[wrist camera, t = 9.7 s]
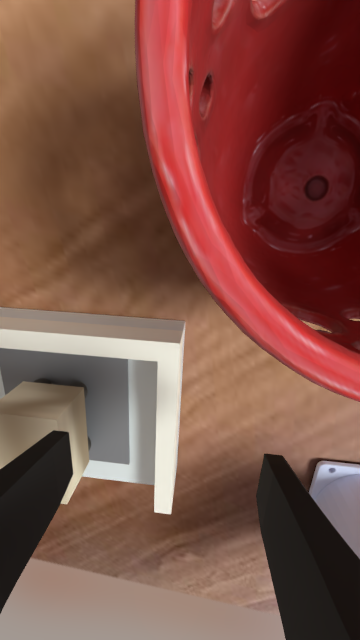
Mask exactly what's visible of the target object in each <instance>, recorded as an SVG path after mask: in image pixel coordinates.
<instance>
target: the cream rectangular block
mask: <svg viewBox="0 0 360 640" xmlns="http://www.w3.org/2000/svg"><path fill="white" fill-rule="evenodd" d="M87 393H88V390H87V387H86V385H85V384H83V383H82V382H73V383H71V384H69V385H68V386H65V385H55V384H52V382H51V381H50V380H48V379H46V378H40V379H37V380H35V381H34V382H25V381H23V382H22V383H20V384H19V385H18V386H17V387H15V388H14V389H13V390H11V391H10V392H9V393H8V394H6V395H5V396H4V397H2V398H1V399H0V469H1V468H3V467H4V466H5V465H7V464H8V463H10V462H11V461H12V460H14V459H15V458H16V457H18V456H19V455H20V454H22V453H23V452H24V451H26V450H27V449H29V448H30V447H31V446H33V445H34V444H35V443H37V442H38V441H39V440H41V439H42V438H43V437H45V436H46V435H47V434H49V433H50V432H52V431H53V430H56V431H65V432H69V438H70V447H71V456H72V466H73V476H72V478H71V481H70V483H69V485H68V488H67V490H66V492H65V495H64V497H63V499H62V501H61V503H60V504H68V502H69V500H70V498H71V496H72V494H73V492H74V490H75V488H76V486H77V484H78V482H79V481H80V479H81V477H82V475H83V473H84V471H85V469H86V467H87V465H88V463H89V450H90V448H91V440H90V438H89V437H88V436H87V424H86V411H85V398H86V396H87Z"/></svg>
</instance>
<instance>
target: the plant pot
mask: <svg viewBox="0 0 360 640" xmlns="http://www.w3.org/2000/svg"><path fill="white" fill-rule="evenodd" d="M135 55H136V73H137V86H138V94H139V102H140V110H141V118H142V126H143V134H144V138H145V142H146V147H147V151H148V155H149V160H150V164H151V168H152V172H153V175H154V179H155V182H156V185H157V188H158V192H159V195H160V198H161V201H162V203H163V206H164V209H165V212H166V214H167V217H168V219H169V222H170V224H171V227H172V229H173V231H174V234H175V236H176V239H177V241H178V243H179V245H180V246H181V248H182V250H183V252H184V254H185V256H186V258H187V259H188V261H189V263H190V265H191V266H192V268H193V270H194V271H195V273H196V275H197V276H198V278H199V280H200V281H201V283H202V284H203V285H204V287H205V288H206V290H207V291H208V292H209V294H210V295H211V296H212V298H213V299H214V301H215V302H216V303H217V304H218V305H219V307H220V308H221V309H222V310H223V311H224V313H225V314H226V315H227V316H228V317H229V318H230V319H231V320H232V321H233V322H234V323H235V324H236V325H237V327H238V328H239V329H240V330H241V331H242V332H243V333H244V334H245V335H247V336H248V337H249V338H250V339H251V340H252V341H254V342H255V343H256V344H257V345H258V346H260V347H261V348H262V349H263V350H265V351H266V352H267V353H269V354H270V355H271V356H273V357H274V358H276V359H277V360H278V361H280V362H281V363H282V364H284V365H285V366H287V367H289V368H290V369H292V370H293V371H295V372H296V373H298V374H299V375H301V376H303V377H304V378H306V379H308V380H309V381H311V382H313V383H315V384H317V385H319V386H321V387H323V388H325V389H328V390H330V391H332V392H334V393H337V394H340V395H342V396H345V397H347V398H350V399H353V400H355V401H358V402H360V321H353V320H349V319H354V318H355V319H360V0H255V1H253V0H136V1H135ZM301 320H303V321H306V322H310V323H313V324H316V325H319V326H321V327H323V328H325V329H327V330H329V331H331V332H332V333H330V332H327V331H322V330H314V329H312V328H311V327H309V326H308V325H306V324H305V323H303V322H302V321H301Z"/></svg>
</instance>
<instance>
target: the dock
mask: <svg viewBox="0 0 360 640" xmlns="http://www.w3.org/2000/svg"><path fill="white" fill-rule="evenodd" d="M184 335H185V321H179V320H165V319H152V318H139V317H125V316H112V315H99V314H85V313H72V312H58V311H45V310H32V309H18V308H5V307H0V399H1V398H2V397H4V396H5V395H6V394H8V393H9V392H10V391H11V390H13V389H14V388H15V387H17V386H18V385H19V384H20V383H22V382H23V381H25V382H34V381H35V380H37V379H40V378H46V379H48V380H50V381H51V382H52V384H55V385H65V386H68V385H69V384H71V383H73V382H82V383H83V384H85V385H86V387H87V390H88V393H87V396H86V398H85V411H86V424H87V436H88V437H89V438H90V440H91V448H90V450H89V463H88V465H87V467H86V469H85V471H84V473H83V475H82V476H84V477H92V478H100V479H108V480H117V481H125V482H133V483H141V484H149V485H155V497H154V512H157V513H164V514H171V511H172V502H173V494H174V486H175V477H176V469H177V456H178V439H179V421H180V404H181V387H182V370H183V352H184Z"/></svg>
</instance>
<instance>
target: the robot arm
mask: <svg viewBox="0 0 360 640" xmlns="http://www.w3.org/2000/svg"><path fill="white" fill-rule="evenodd" d="M72 476H73V466H72V456H71V447H70V438H69V432H65V431H56V430H53V431H52V432H50V433H49V434H47V435H46V436H45V437H43V438H42V439H41V440H39V441H38V442H37V443H35V444H34V445H33V446H31V447H30V448H29V449H27V450H26V451H24V452H23V453H22V454H20V455H19V456H18V457H16V458H15V459H14V460H12V461H11V462H10V463H8V464H7V465H5V466H4V467H3V468H1V469H0V613H1V611H2V609H3V607H4V605H5V603H6V601H7V599H8V597H9V595H10V593H11V592H12V590H13V588H14V586H15V584H16V582H17V580H18V579H19V577H20V575H21V573H22V571H23V569H24V568H25V566H26V564H27V563H28V561H29V559H30V557H31V556H32V554H33V552H34V550H35V549H36V547H37V545H38V543H39V541H40V540H41V538H42V536H43V534H44V533H45V531H46V529H47V527H48V525H49V524H50V522H51V520H52V518H53V516H54V515H55V513H56V511H57V509H58V507H59V505H60V503H61V501H62V499H63V497H64V495H65V492H66V490H67V488H68V485H69V483H70V481H71V478H72ZM256 498H257V506H258V514H259V521H260V528H261V534H262V538H263V543H264V547H265V551H266V556H267V560H268V564H269V569H270V573H271V577H272V581H273V586H274V590H275V594H276V598H277V603H278V607H279V611H280V616H281V620H282V624H283V629H284V633H285V638H286V640H360V465H358V464H349V463H340V462H331V461H320V462H318V463H317V465H316V469H315V473H314V476H313V480H312V483H311V487H310V490H309V493H308V491H307V490H306V488H305V487H304V486H303V484H302V483H301V481H300V480H299V479H298V477H297V476H296V474H295V473H294V471H293V470H292V468H291V467H290V466H289V464H288V463H287V461H286V460H285V458H284V457H283V456H281V455H272V454H264V459H263V464H262V469H261V474H260V479H259V485H258V490H257V495H256Z"/></svg>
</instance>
